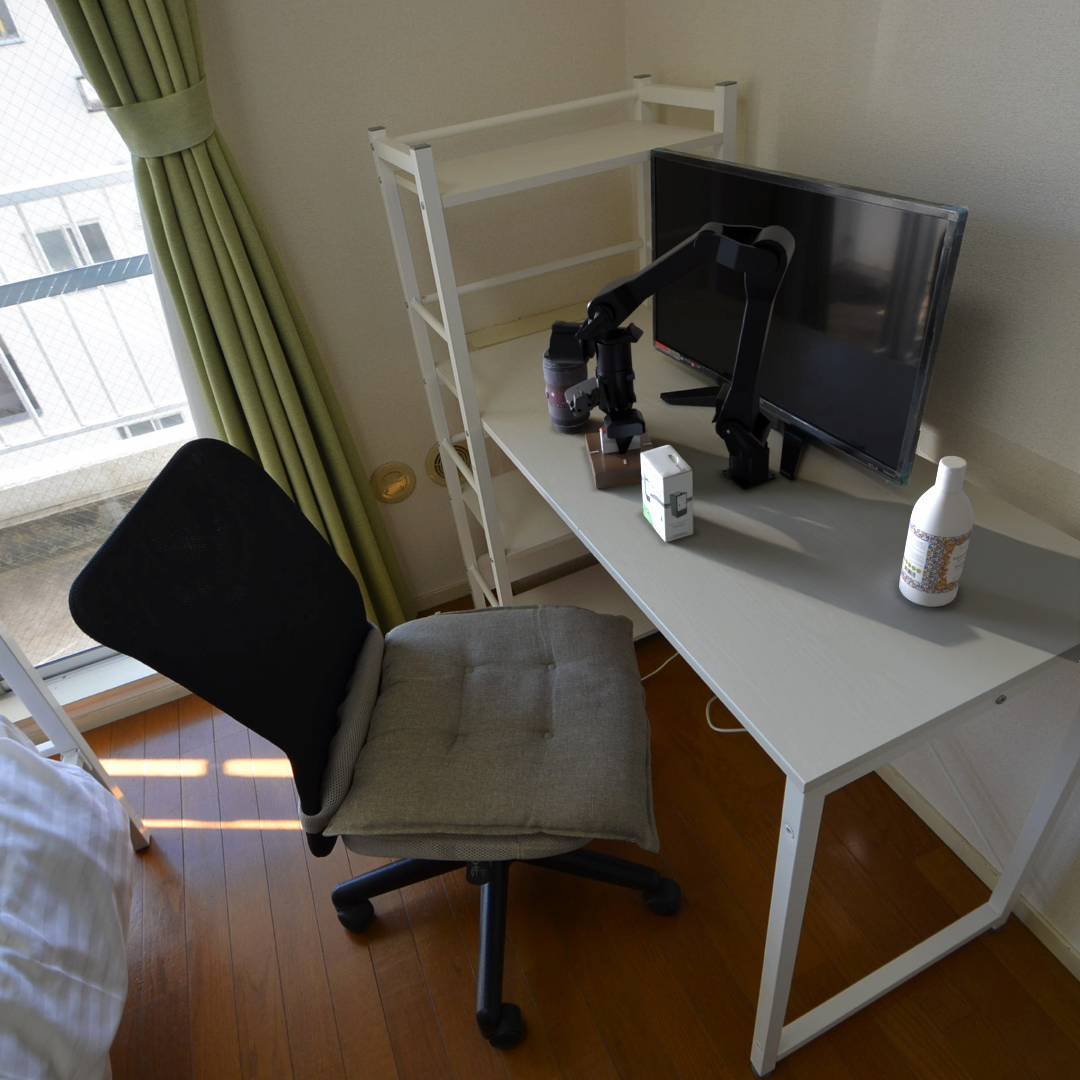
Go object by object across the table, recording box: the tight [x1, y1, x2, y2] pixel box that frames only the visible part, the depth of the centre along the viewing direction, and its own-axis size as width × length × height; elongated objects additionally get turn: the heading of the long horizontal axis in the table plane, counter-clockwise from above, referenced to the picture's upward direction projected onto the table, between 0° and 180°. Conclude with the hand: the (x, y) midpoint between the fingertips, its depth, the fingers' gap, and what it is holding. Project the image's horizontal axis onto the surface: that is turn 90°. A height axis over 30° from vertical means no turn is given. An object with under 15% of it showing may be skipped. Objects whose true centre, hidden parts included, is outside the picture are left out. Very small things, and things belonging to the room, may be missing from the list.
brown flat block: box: [584, 426, 654, 490], centre depth 140 cm, size 14×11×3 cm
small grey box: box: [599, 426, 640, 454], centre depth 138 cm, size 6×2×4 cm, turn 94°
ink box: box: [641, 444, 694, 543], centre depth 122 cm, size 9×5×12 cm, turn 18°
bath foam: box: [898, 455, 975, 608], centre depth 100 cm, size 7×7×20 cm
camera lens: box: [542, 348, 591, 434], centre depth 150 cm, size 8×8×15 cm
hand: (620, 447), depth 139 cm, fingers open, 4 cm apart
